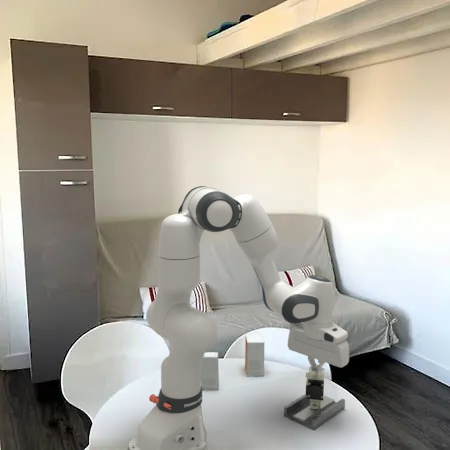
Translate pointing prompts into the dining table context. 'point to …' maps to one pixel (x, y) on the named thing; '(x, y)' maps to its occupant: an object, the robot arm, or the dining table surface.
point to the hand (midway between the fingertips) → (316, 371)
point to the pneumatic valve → (315, 388)
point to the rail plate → (313, 411)
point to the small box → (254, 354)
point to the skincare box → (210, 371)
